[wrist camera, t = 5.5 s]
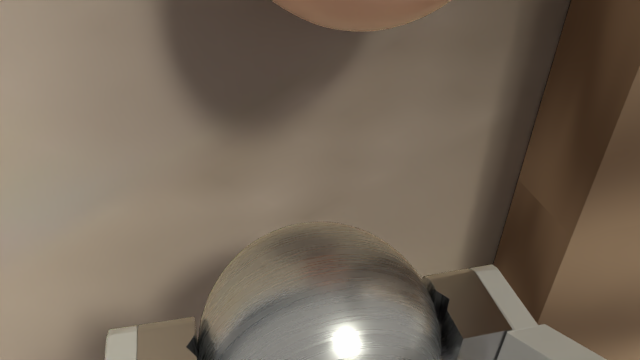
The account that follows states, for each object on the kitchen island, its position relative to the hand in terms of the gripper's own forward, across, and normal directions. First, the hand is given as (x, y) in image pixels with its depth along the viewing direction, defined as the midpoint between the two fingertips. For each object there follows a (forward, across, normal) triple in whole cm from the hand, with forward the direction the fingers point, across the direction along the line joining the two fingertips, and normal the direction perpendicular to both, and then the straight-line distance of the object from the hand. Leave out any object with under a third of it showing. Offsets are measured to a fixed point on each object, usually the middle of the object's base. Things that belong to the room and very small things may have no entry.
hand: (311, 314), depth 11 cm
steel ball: (-1, 0, 0) cm, 1 cm away
